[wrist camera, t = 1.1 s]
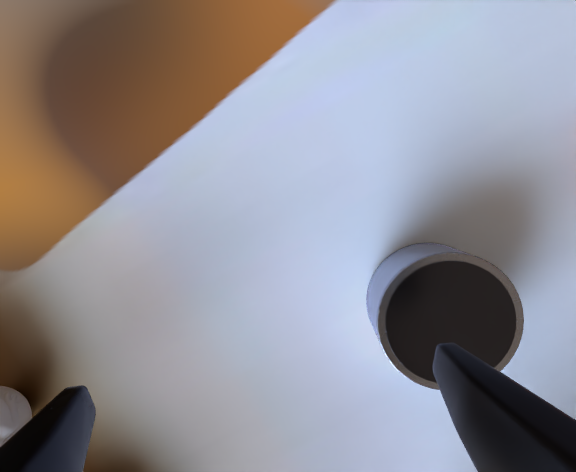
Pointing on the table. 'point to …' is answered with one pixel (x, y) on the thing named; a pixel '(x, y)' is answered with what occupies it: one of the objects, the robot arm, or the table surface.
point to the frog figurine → (12, 413)
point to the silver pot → (442, 309)
